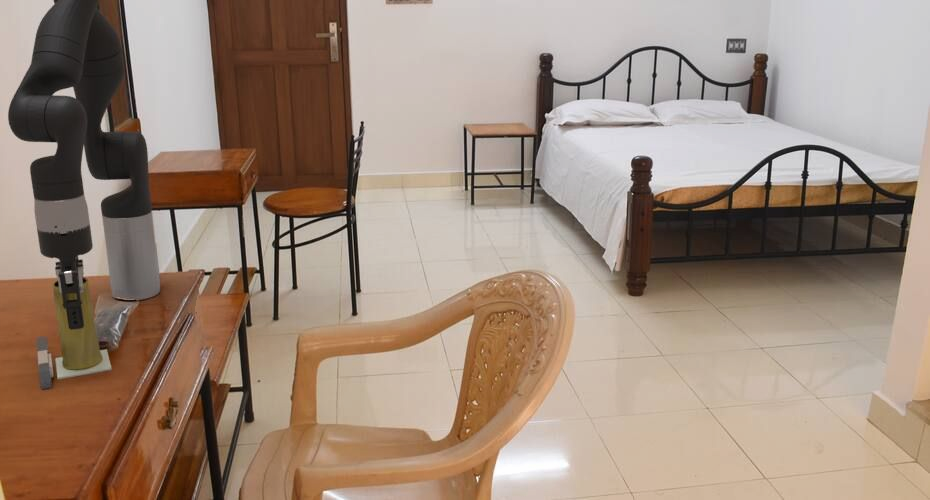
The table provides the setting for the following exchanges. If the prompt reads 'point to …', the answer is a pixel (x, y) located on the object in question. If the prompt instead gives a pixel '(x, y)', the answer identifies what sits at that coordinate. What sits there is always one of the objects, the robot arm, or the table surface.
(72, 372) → the pad
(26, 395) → the table surface
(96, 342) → the vase
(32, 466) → the table surface
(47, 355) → the price rail
